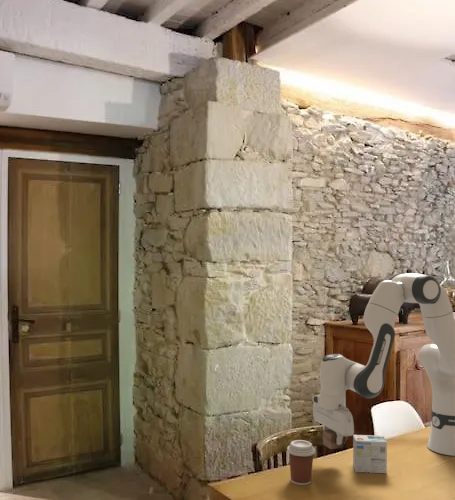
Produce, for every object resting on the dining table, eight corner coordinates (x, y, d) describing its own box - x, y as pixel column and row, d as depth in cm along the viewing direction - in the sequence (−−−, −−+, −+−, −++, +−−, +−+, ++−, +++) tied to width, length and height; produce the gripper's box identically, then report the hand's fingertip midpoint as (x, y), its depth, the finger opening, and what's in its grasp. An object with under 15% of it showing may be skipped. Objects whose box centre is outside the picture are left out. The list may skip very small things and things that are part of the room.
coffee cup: (319, 486, 166) (319, 448, 167) (291, 487, 165) (291, 449, 165) (309, 474, 175) (310, 438, 176) (283, 475, 174) (283, 439, 174)
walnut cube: (335, 442, 188) (334, 428, 188) (343, 447, 183) (343, 432, 183) (323, 444, 186) (322, 430, 186) (331, 449, 181) (330, 434, 181)
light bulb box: (383, 466, 183) (383, 435, 183) (387, 474, 177) (387, 441, 177) (352, 464, 184) (352, 433, 184) (354, 472, 178) (355, 440, 178)
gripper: (358, 408, 176) (358, 449, 176) (324, 393, 195) (324, 430, 195) (342, 410, 174) (342, 452, 174) (309, 395, 193) (310, 433, 192)
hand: (333, 441), depth 184 cm, fingers closed on walnut cube, 5 cm apart
